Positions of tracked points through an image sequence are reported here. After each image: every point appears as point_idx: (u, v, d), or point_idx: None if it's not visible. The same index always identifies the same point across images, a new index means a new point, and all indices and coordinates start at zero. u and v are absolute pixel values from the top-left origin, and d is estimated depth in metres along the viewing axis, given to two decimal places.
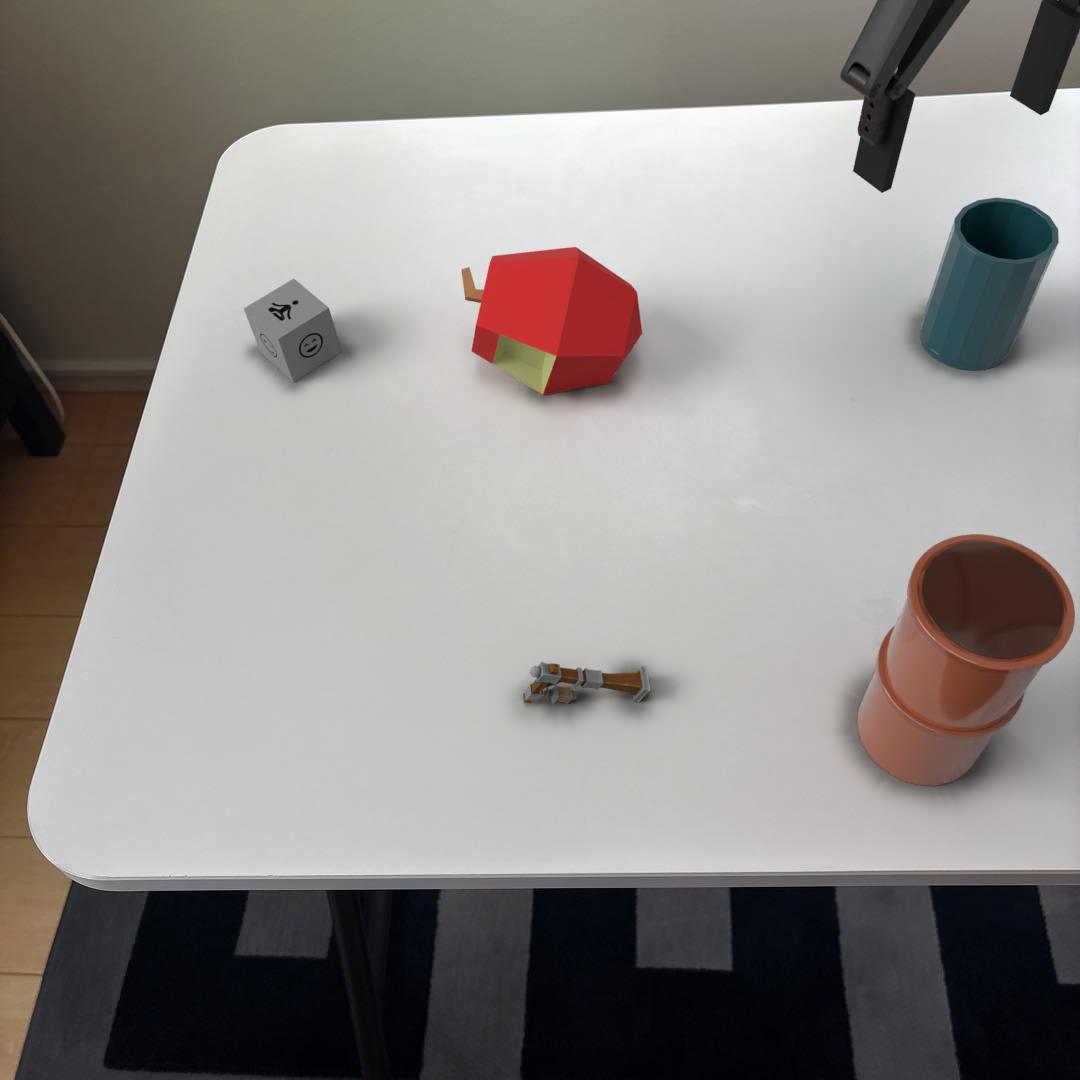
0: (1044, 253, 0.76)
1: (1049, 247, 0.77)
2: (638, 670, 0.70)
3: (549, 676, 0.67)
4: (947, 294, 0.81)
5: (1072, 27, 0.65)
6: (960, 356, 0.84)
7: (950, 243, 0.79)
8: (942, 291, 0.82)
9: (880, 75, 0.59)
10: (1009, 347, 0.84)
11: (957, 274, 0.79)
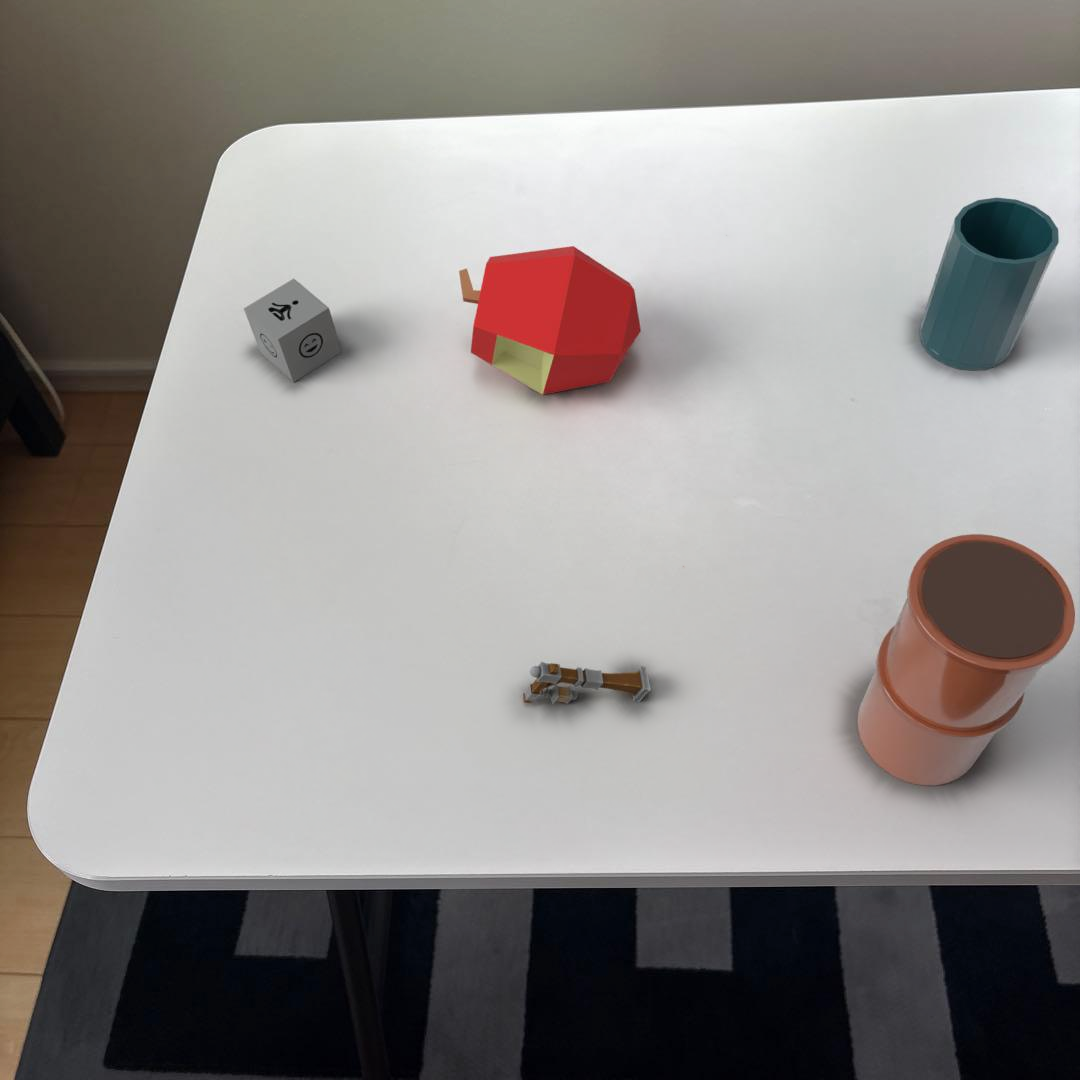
0: (1044, 253, 0.76)
1: (1049, 247, 0.77)
2: (638, 670, 0.70)
3: (549, 676, 0.67)
4: (947, 294, 0.81)
5: None
6: (960, 356, 0.84)
7: (950, 243, 0.79)
8: (942, 291, 0.82)
9: None
10: (1009, 347, 0.84)
11: (957, 274, 0.79)
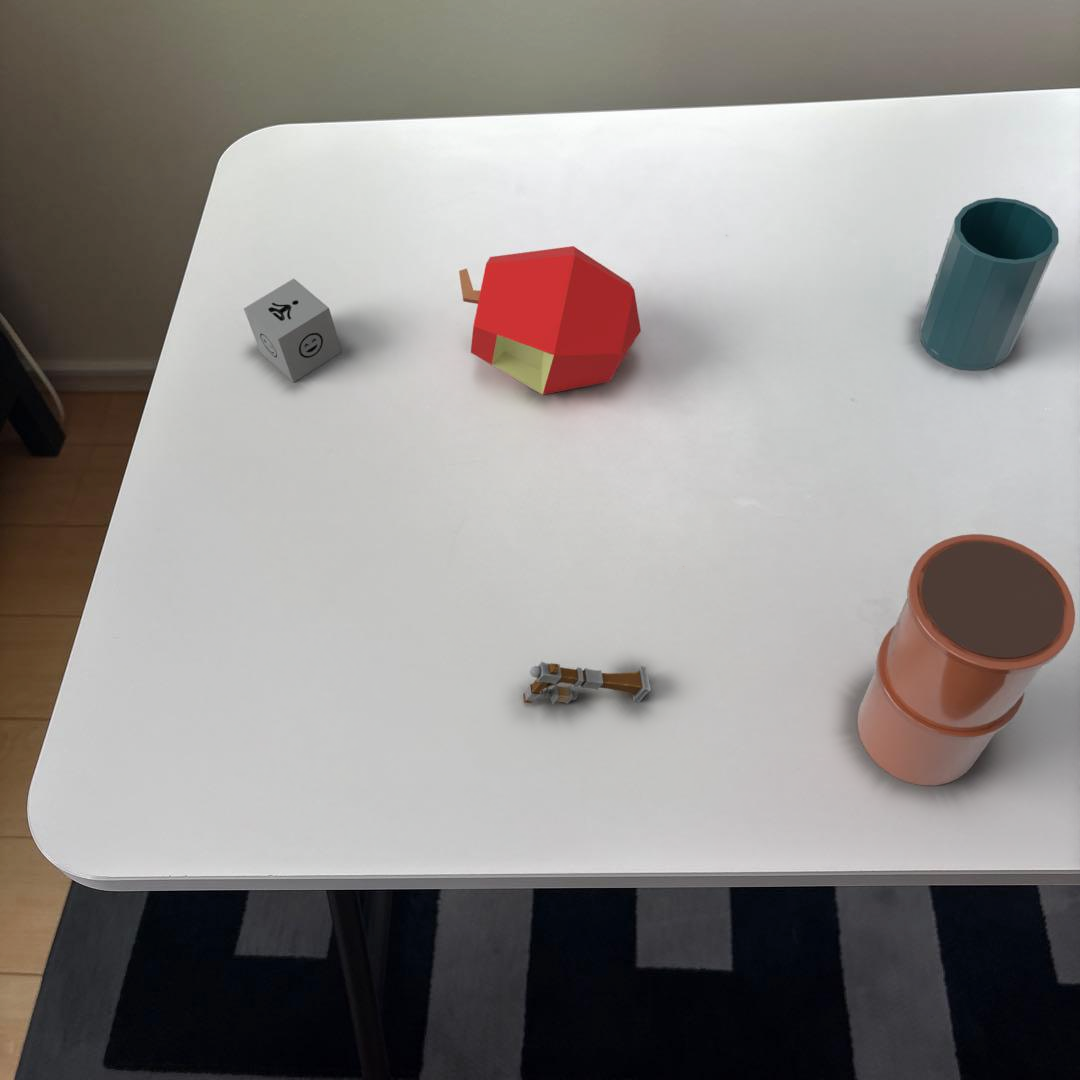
0: (1044, 253, 0.76)
1: (1049, 247, 0.77)
2: (638, 670, 0.70)
3: (549, 676, 0.67)
4: (947, 294, 0.81)
5: None
6: (960, 356, 0.84)
7: (950, 243, 0.79)
8: (942, 291, 0.82)
9: None
10: (1009, 347, 0.84)
11: (957, 274, 0.79)
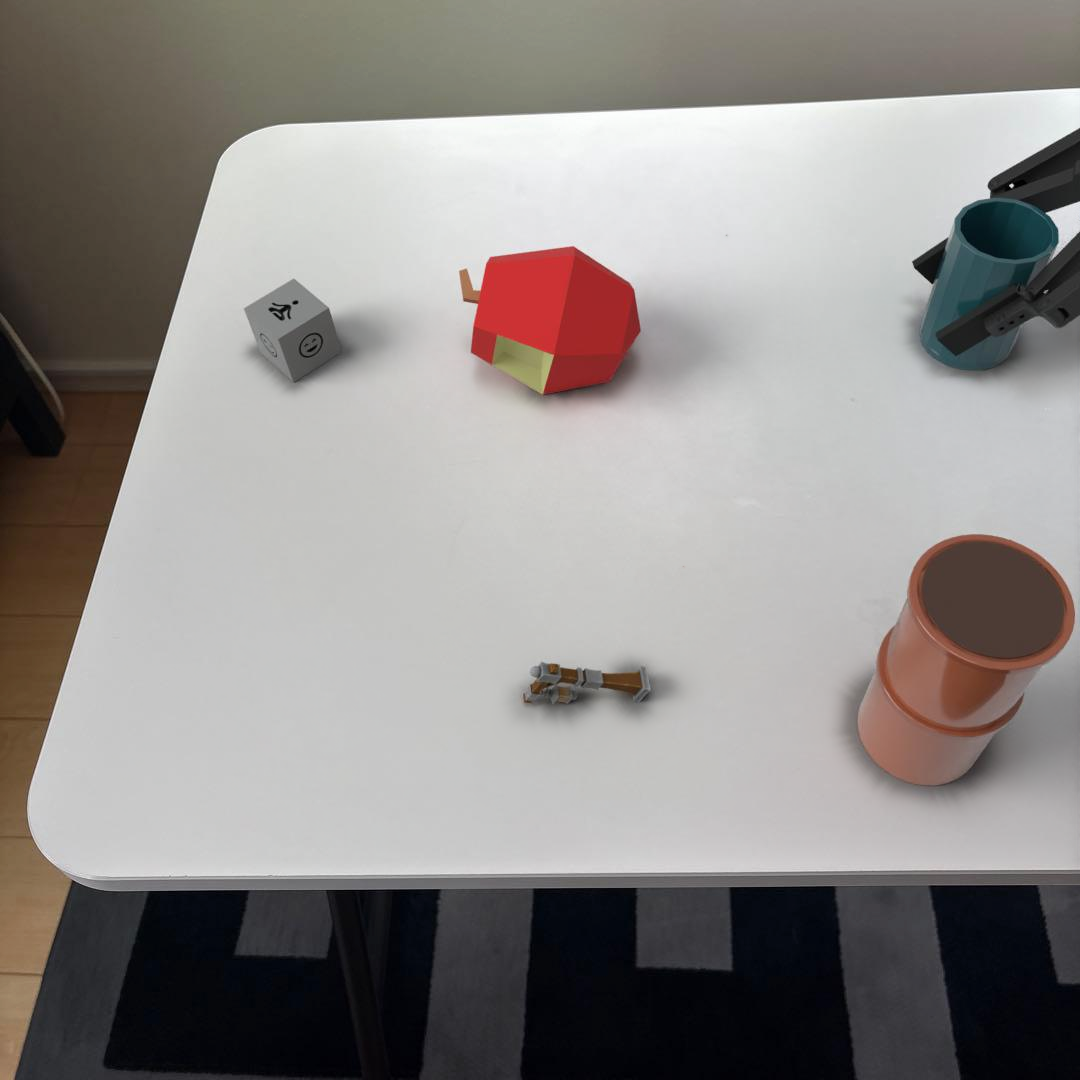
0: (1044, 253, 0.76)
1: (1049, 247, 0.77)
2: (638, 670, 0.70)
3: (549, 676, 0.67)
4: (947, 294, 0.81)
5: (1007, 288, 0.78)
6: (960, 356, 0.84)
7: (950, 243, 0.79)
8: (942, 291, 0.82)
9: (1004, 173, 0.82)
10: (1009, 347, 0.84)
11: (957, 274, 0.79)
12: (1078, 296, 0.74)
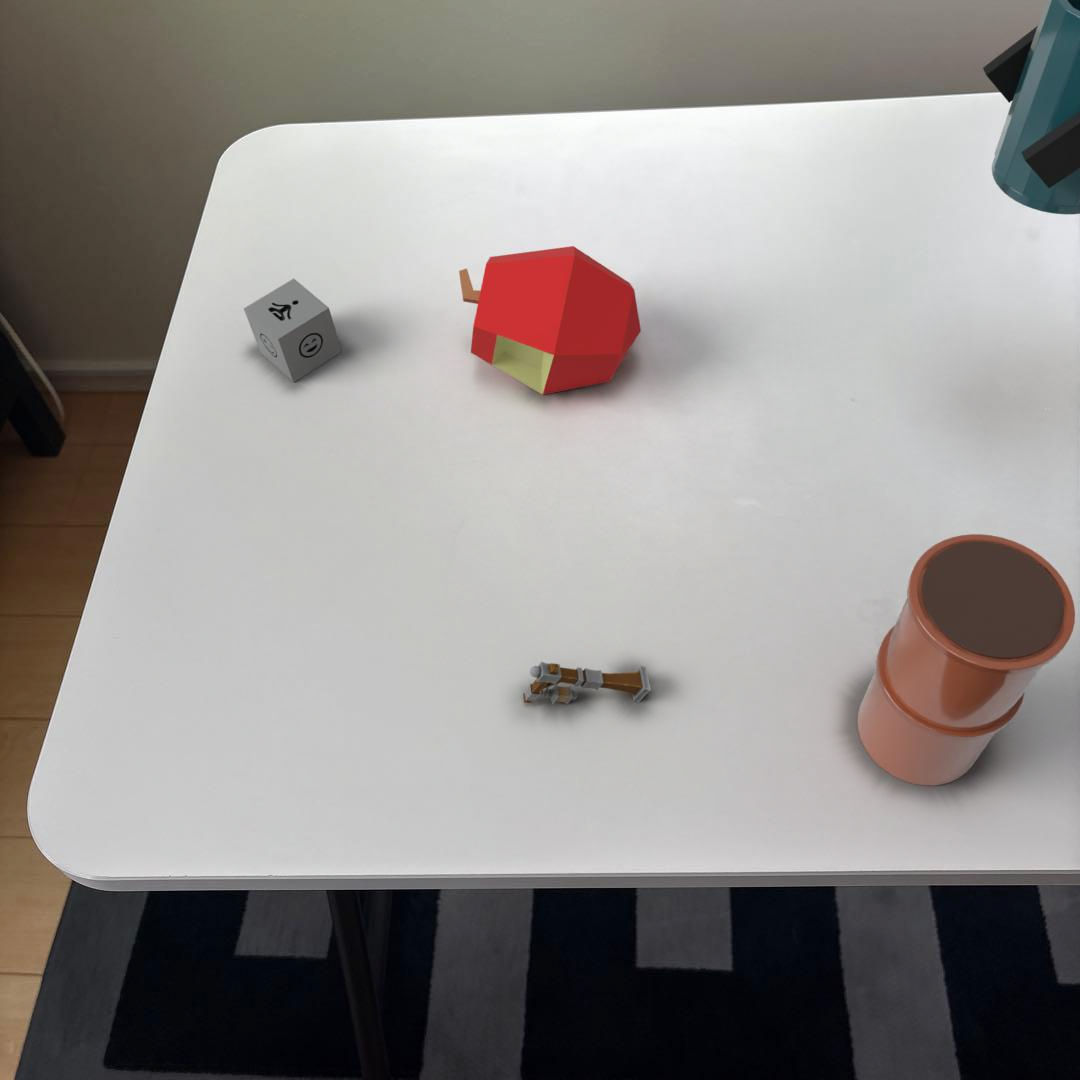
0: None
1: None
2: (638, 670, 0.70)
3: (549, 676, 0.67)
4: (1039, 97, 0.58)
5: None
6: (1053, 192, 0.61)
7: (1046, 17, 0.56)
8: (1030, 95, 0.58)
9: None
10: None
11: (1056, 62, 0.56)
12: None
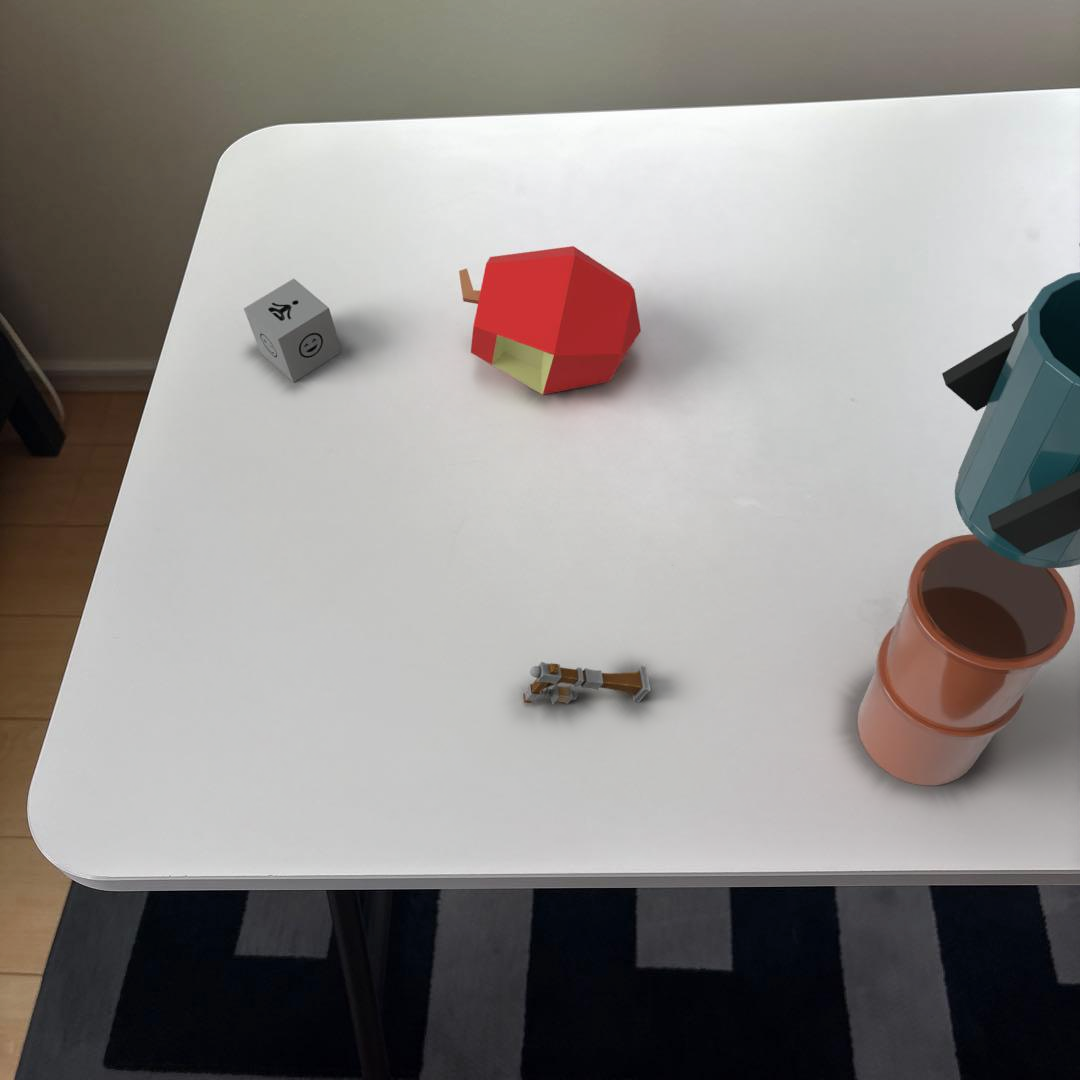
0: None
1: None
2: (638, 670, 0.70)
3: (549, 676, 0.67)
4: (1011, 445, 0.44)
5: None
6: None
7: (1019, 356, 0.42)
8: (1000, 438, 0.45)
9: None
10: None
11: (1033, 414, 0.42)
12: None
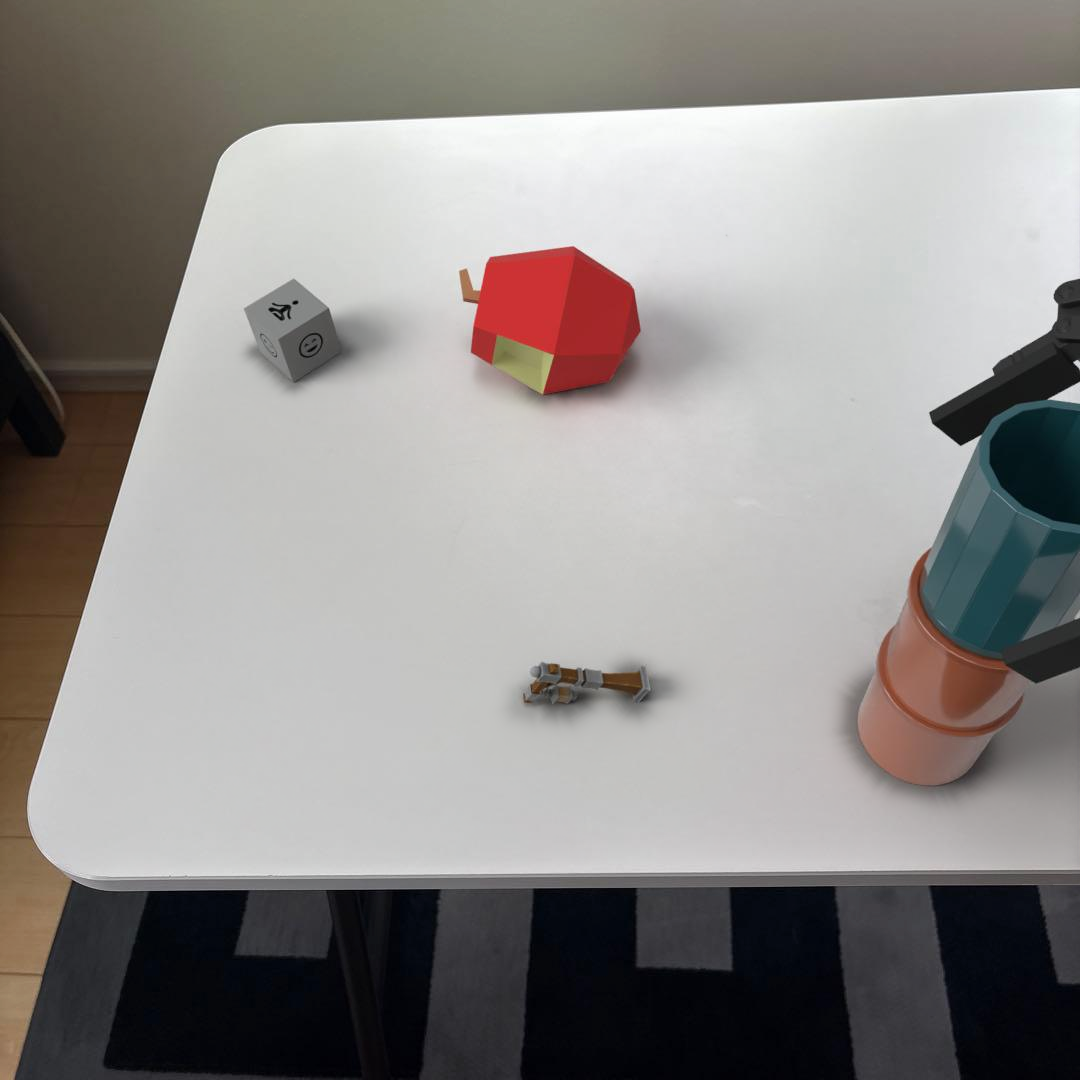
0: None
1: None
2: (638, 670, 0.70)
3: (549, 676, 0.67)
4: (966, 556, 0.49)
5: None
6: (986, 642, 0.52)
7: (972, 480, 0.47)
8: (957, 548, 0.50)
9: None
10: None
11: (984, 533, 0.47)
12: None
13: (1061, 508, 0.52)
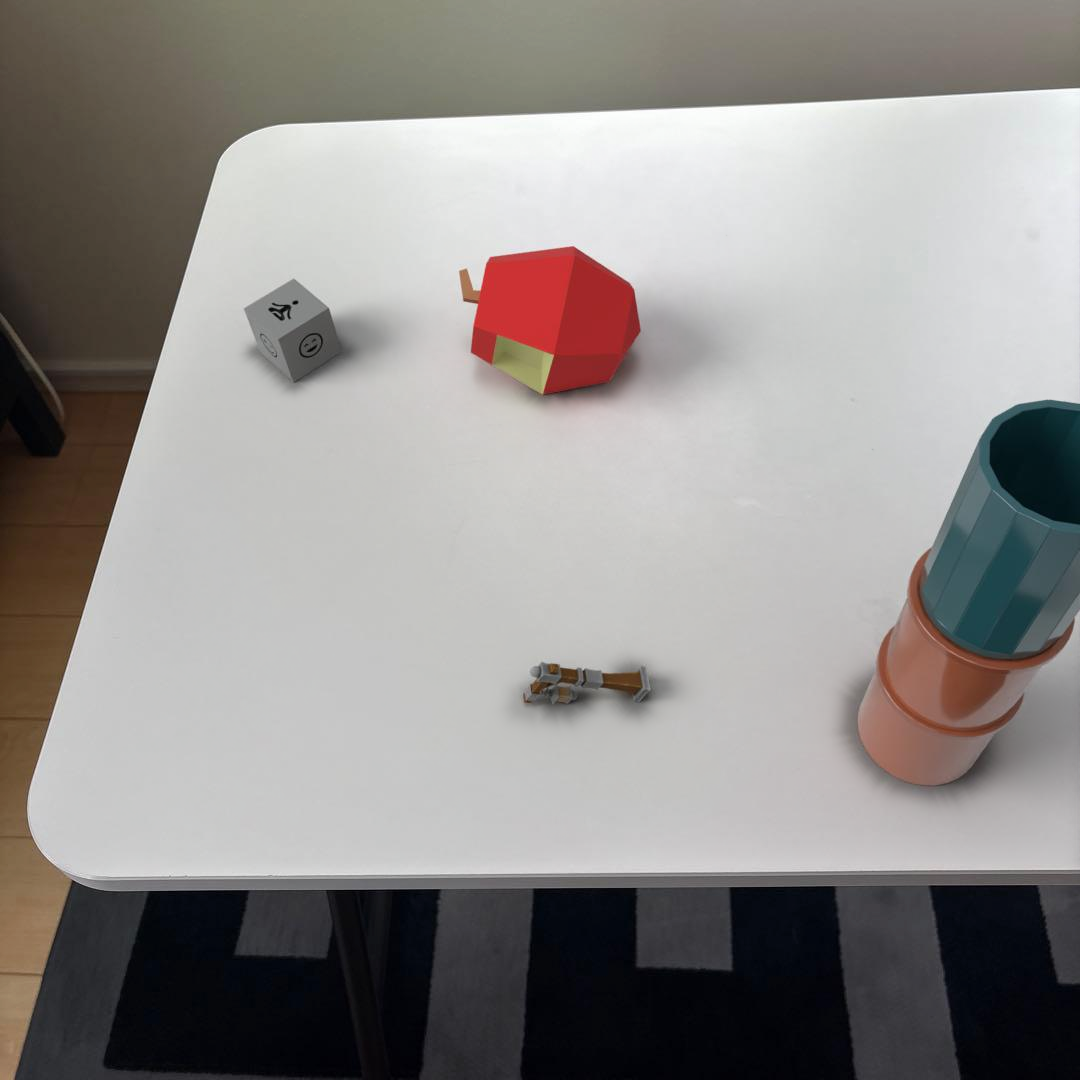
0: None
1: None
2: (638, 670, 0.70)
3: (549, 676, 0.67)
4: (966, 556, 0.49)
5: None
6: (986, 642, 0.52)
7: (972, 480, 0.47)
8: (957, 548, 0.50)
9: None
10: (1066, 627, 0.52)
11: (984, 533, 0.47)
12: None
13: (1061, 508, 0.52)
